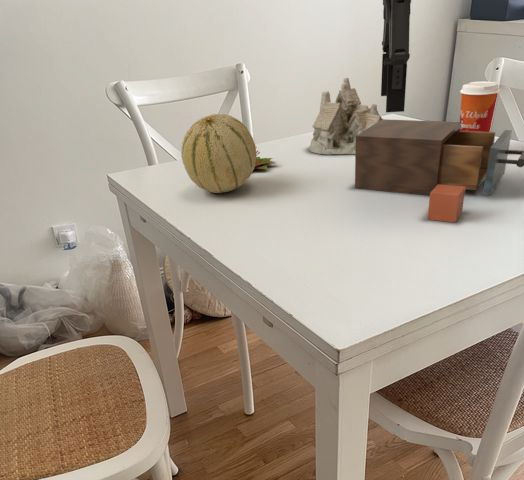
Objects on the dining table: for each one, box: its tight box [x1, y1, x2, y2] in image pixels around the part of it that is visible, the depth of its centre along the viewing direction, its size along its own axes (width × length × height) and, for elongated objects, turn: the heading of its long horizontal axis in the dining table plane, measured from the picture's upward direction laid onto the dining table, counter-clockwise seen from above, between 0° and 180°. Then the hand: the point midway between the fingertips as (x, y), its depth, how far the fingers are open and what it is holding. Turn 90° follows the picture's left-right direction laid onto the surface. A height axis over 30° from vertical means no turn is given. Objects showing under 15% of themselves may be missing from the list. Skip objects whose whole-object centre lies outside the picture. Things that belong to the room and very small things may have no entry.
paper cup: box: [459, 81, 501, 132], centre depth 114 cm, size 8×8×14 cm
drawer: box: [438, 129, 524, 196], centre depth 98 cm, size 19×13×8 cm, turn 60°
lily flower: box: [254, 150, 277, 170], centre depth 122 cm, size 12×12×5 cm
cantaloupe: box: [180, 113, 257, 194], centre depth 106 cm, size 15×15×15 cm
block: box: [427, 184, 466, 223], centre depth 89 cm, size 4×4×4 cm
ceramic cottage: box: [309, 77, 383, 155], centre depth 126 cm, size 16×16×15 cm
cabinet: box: [354, 118, 461, 196], centre depth 104 cm, size 16×14×10 cm
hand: (391, 103), depth 89 cm, fingers open, 13 cm apart
